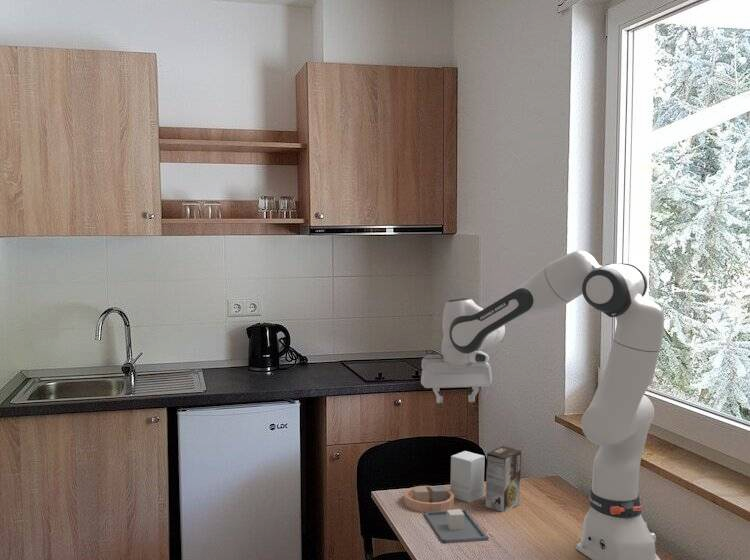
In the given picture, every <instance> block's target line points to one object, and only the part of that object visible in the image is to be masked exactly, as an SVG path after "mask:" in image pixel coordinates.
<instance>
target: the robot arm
mask: <svg viewBox="0 0 750 560" xmlns="http://www.w3.org/2000/svg"><path fill="white" fill-rule="evenodd" d="M647 289H648V279H647V276H646V275H645V273H644V272H643V270H642V269H641V268H639V267H637V266H635V265H633V264H629V263H606V264H605V265H600V264H599V262H598V261H597V260H596V258H595V257H594V256H593V255H592V254H590V253H589V252H587V251H584V250H575V251H572V252H570V253H567V254H565V255H563V256H561V257H559V258H556V259H555V260H554V261H552V262H550V263H548V264H547V265H546V266H543V267H542V268H540V270H538V271H537V272H535V273H534V274H533V275H531V276H530V277H529V278H528V279H527V280H525V281H524V282H523V283H522V284H520V285H518V287H516V288H514V289H513V290H512V291H511V292H509V293H508V294H507V295H505V296H503V297H502V298H500V299H498V300H497V301H495V302H493V303H491V304H490V305H488V306H486V307H485V308H483V307H481V306H479V305H478V304H476V302H475V301H474V300H473V299H472V298H470V297H469V298H468V297H463V298H456V299H450V300H448V301H447V302H446V303H445V305H444V308H443V313H442V332H443V336H442V337H443V338H442V341H441V354H433V355H432V354H427V355H426V356H424V357H423V358H422V359H421V364H420V366H421V367H420V368H421V369H422V370H421V376H420V385H422V386H423V387H424V388H425V389H432V391H433V392H434V395H435V396H436V403H437V404H443V403H444V397H443V396H442V395H440V393H439V392H440V388H441V389H442V388H443V389H445V388H446V389H447V388H448V389H449V388H471V389H472V392H471V394H468V395H467V397H468V398H467V401H468V402H469V403H475V401H476V396H477V394H478V393H479V391H480V388H481V387H482V388H483V387H484V388H485V387H486V388H487V387H490V385H491V384H492V381H493V377H492V375H493V374H492V368H491V365H490V364H489V363H488V362H489V361H490V355H488V354H487V353H486V352H484V351H482V350H483V349H486V348H491V347H493V346H496V345H498V344H500V343H501V342H502V341H503V340H504V339H505V336H506V325H507V324H509V323H511V322H512V321H515V320H518V319H520V318H524V317H528V316H533V315H537V314H542V313H544V314H545V313H548V312H551V311H554V310H556V309H559V308H561V307H563V306H565V305H567V304H569V303H570V302H571V301H574V300H575V299H577V298H578V297H580V296H583V298H584V300H585V301H586V303H588V304H589V305H590V306H591V307H592V308H594V309H596V310H598V311H600V312H602V313H603V314H605V315H606V316H607V317H609V318H615V319H616V326H615V331H614V334H613V340H612V342H611V348H610V351H609V355H608V360H607V364H606V366H605V367H606V368H605V370H604V373H603V375H602V378H601V380H600V382H599V384H598V386H597V389H596V390H595V393H594V395H593V397H592V400H591V402H590V404H589V405H588V407H587V409H586V410H585V411H584V413H582V417H581V422H580V425H581V430H582V432H583V435H584V436H585V437H586V439H587V440H588V441H589V442H591V443H592V444H594V445H597V446H599V447H598V450H597V452H596V453H595V456H594V459H593V465H592V483H591V485H592V486H591V489H590V490H589V495H588V496H589V497H588V498H589V499H588V500H589V509H588V511H587V512H586V514H585V515H584V518H583V523H582V530H581V531H582V532H581V539H580V542H578V543H577V544H576V548H575V549H576V550H577V551H579V552H580V553H582V554H583V555H585V556H586V557H588V558H589V559H590V560H661V559H660V557H659V556H658V555H657V553H656V544H655V543H656V542H657V536H656V534H655V532H650V530H649V527H648V524H647V522H646V521H645V520H644V518H643V516H642V511H643V509H642V508H643V505H641V504H642V503H641V500H640V495H639V482H640V481H639V479H640V468H641V462H642V456H643V453H644V449H645V446H646V443H647V442H646V441H647V437H648V433H649V429H650V427H651V424H652V422H653V421H654V418H655V408H654V405H653V403H652V401H651V400H650V399H649V398H648V396H646V395H645V393H646V391H647V389H648V388H649V386H650V385H651V383H652V382H653V379H654V374H655V371H656V368H657V367H656V366H657V363H658V360H659V354H660V351H661V346H662V343H663V335H664V329H665V328H664V327H665V325H664V324H665V313H664V310H663V308H662V307H661V306H660V305H659V304H657V303H656V302H655V301H652V300H649V299H646V298H644V296H645V294H646V293H647Z"/></svg>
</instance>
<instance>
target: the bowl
mask: <svg viewBox="0 0 750 560" xmlns="http://www.w3.org/2000/svg"><path fill="white" fill-rule="evenodd" d="M417 487H426V488H427V490H428V491H429V498H430V487H436V485H435V486H434V485H418V486H413V487H409V488H408V489H406V490H405V491H404V493H403V498H404V499H403V500H404V501H403V503H404V505H405V506H406V507H407V508H408V509H410V510H413V511H416V512H420V513H424V512H433V511H447V510H453V508H454V506H455V498H454V494H453V493H452V492H451V491H450V489H447V488H445V487H444V489H445V490H446V501H442V502H435V503H431V502H430V500H429V501H428V502H421V501H417V500H414V499H412V492H413V488H417Z"/></svg>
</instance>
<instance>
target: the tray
mask: <svg viewBox="0 0 750 560" xmlns="http://www.w3.org/2000/svg"><path fill="white" fill-rule="evenodd" d="M461 511H462V512H463V513H464V514H465V516H464V529H458V530H450V529H449V528H448V526H447V525H446V516H447V511H433V512H423V516H425V518H426V519H427V521H428V522H429V523H428V524H430V526H431V527H432V529H433V530H434V532H435V533H436V535H437V536H438V537H439V539H440V541H441V543H442V544H450V543H453V544H454V543H465V542H478V541H479V542H481V541H484V542H485V541H489V536H488V535H487V533H486V532H485V531H484V530H483V529H482V527H481V526H480V525H479V523H478V522H477V521H476V520H475V519H474V517H473V516H472V515H471V514H470V513H469V511H468V510H467V509H461Z"/></svg>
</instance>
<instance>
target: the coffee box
mask: <svg viewBox="0 0 750 560" xmlns="http://www.w3.org/2000/svg"><path fill="white" fill-rule="evenodd" d="M521 466H522V450H520V449H515V448H513V447H509V446H504V445H502V446H500V447H497V448H496V449H495V448H494V450H491V451H489V452H487V453H486V477H485V478H486V482H485V508H488V509H489V508H490V509H493V510H496V511H499V512H503V513H505V512H507V511H508V510H511V509H514V508H516V507H517V506H519V505H520V502H521V501H520V500H521V499H520V496H521V473H522V471H521V469H522V468H521ZM515 506H516V507H515ZM513 507H514V508H513Z"/></svg>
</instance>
